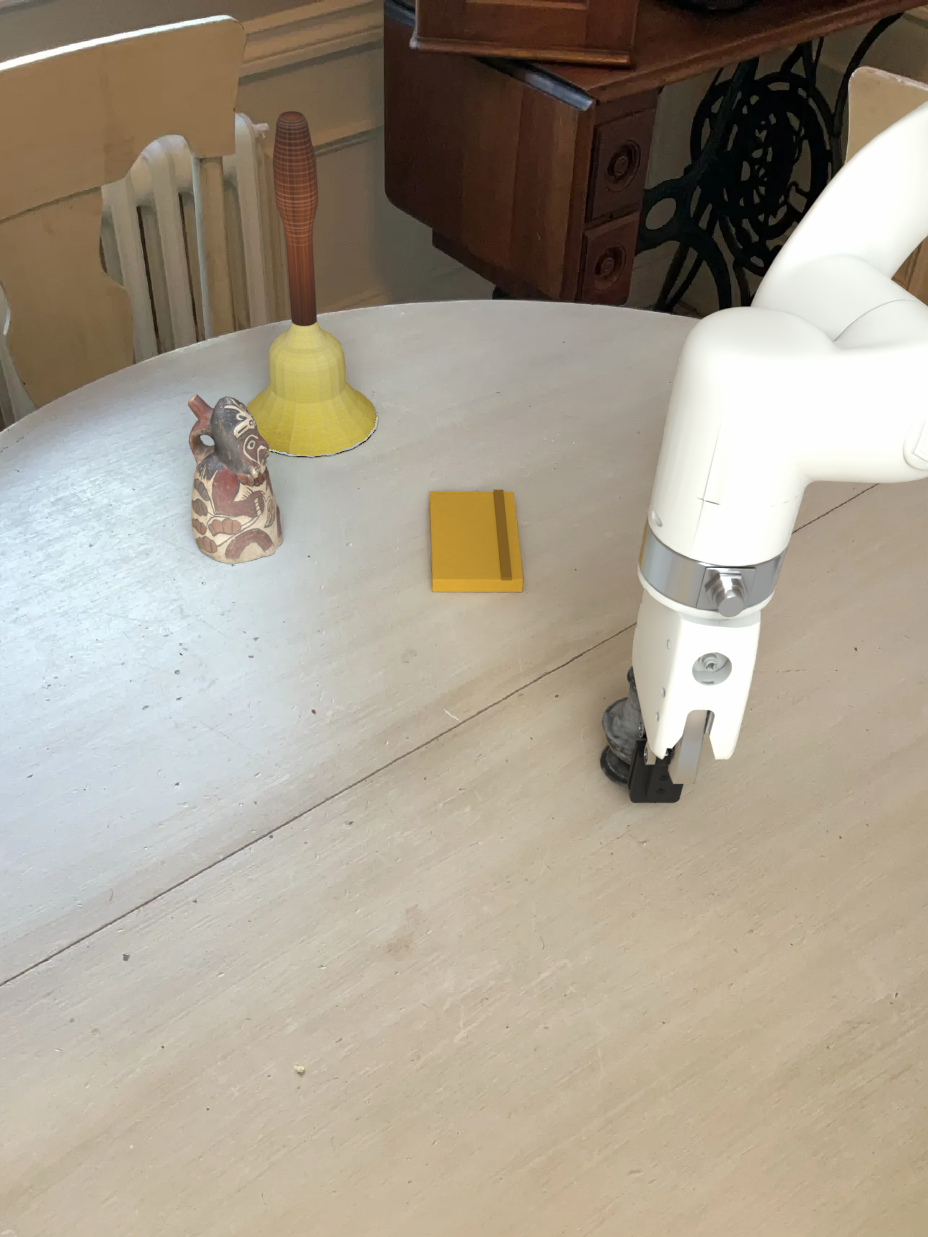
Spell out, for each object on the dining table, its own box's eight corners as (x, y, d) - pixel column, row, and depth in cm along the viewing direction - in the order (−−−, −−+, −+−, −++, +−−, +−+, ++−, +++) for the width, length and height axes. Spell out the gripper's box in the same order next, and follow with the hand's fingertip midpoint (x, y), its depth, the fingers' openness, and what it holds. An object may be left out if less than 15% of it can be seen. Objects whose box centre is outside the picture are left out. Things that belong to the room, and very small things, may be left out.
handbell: (393, 395, 117) (392, 96, 98) (357, 466, 109) (347, 155, 90) (266, 377, 118) (240, 78, 99) (222, 445, 110) (184, 136, 92)
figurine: (260, 572, 99) (246, 433, 90) (178, 552, 100) (156, 413, 91) (296, 522, 103) (286, 385, 94) (217, 504, 105) (200, 367, 96)
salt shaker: (586, 739, 87) (607, 593, 79) (668, 732, 88) (698, 586, 79) (608, 797, 83) (633, 649, 75) (693, 789, 84) (727, 641, 75)
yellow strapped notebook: (429, 503, 106) (429, 488, 104) (512, 504, 106) (513, 489, 105) (432, 592, 98) (432, 577, 97) (522, 592, 98) (523, 577, 97)
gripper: (812, 644, 63) (731, 882, 77) (752, 479, 73) (689, 716, 86) (663, 642, 62) (608, 882, 76) (623, 476, 72) (581, 715, 86)
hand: (652, 793), depth 81 cm, fingers closed
